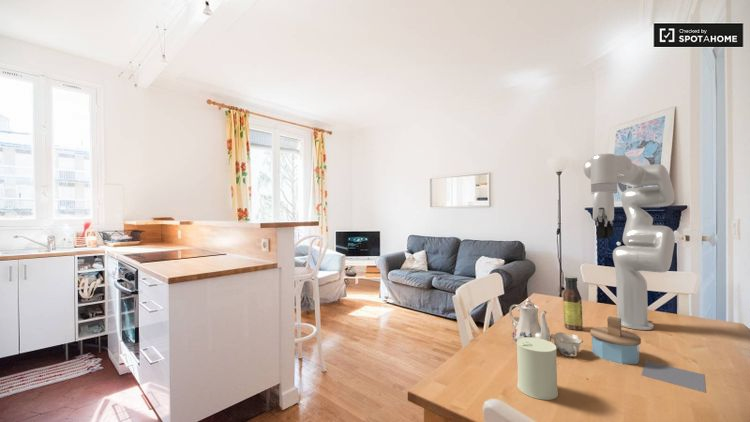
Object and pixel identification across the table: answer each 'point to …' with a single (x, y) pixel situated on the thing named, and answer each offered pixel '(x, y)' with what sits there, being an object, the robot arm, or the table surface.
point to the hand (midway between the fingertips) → (605, 237)
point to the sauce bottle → (572, 305)
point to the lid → (615, 333)
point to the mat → (674, 376)
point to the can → (537, 368)
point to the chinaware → (541, 329)
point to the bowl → (615, 352)
